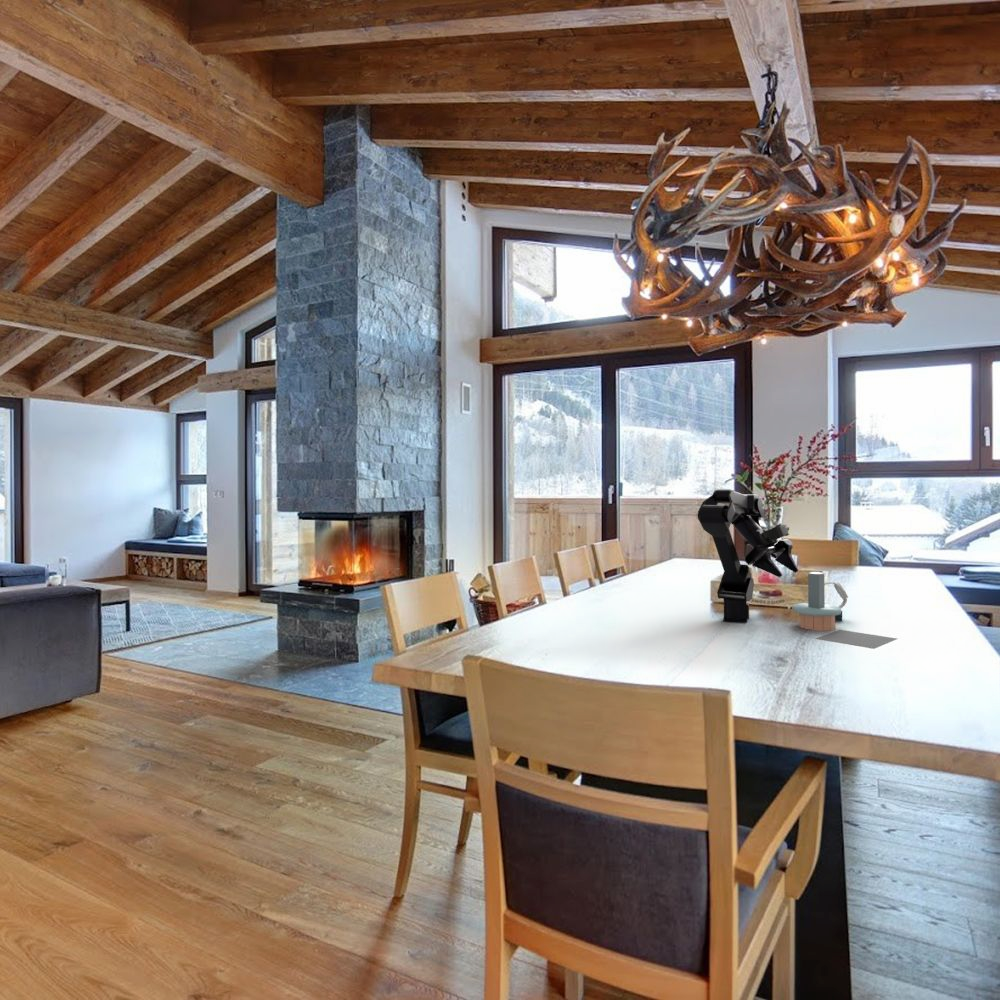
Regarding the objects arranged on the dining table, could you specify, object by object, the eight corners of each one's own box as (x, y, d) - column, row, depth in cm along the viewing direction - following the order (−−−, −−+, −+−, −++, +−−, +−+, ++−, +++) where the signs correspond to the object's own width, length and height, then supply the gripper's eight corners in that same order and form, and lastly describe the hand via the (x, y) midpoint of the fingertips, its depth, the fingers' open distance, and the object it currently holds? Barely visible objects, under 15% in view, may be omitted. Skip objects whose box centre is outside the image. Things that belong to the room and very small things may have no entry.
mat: (814, 640, 170) (815, 638, 170) (840, 631, 179) (840, 629, 179) (874, 650, 159) (873, 648, 159) (897, 640, 168) (897, 638, 168)
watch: (850, 622, 189) (849, 583, 189) (818, 621, 191) (818, 583, 191) (845, 618, 194) (845, 580, 194) (815, 617, 197) (814, 580, 196)
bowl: (800, 630, 181) (799, 613, 181) (798, 623, 189) (797, 607, 189) (836, 632, 178) (836, 615, 177) (832, 625, 186) (832, 609, 186)
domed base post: (784, 611, 184) (783, 573, 184) (805, 605, 192) (805, 568, 191) (828, 618, 175) (828, 577, 174) (849, 611, 182) (848, 572, 182)
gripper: (753, 517, 190) (791, 560, 182) (786, 512, 202) (824, 551, 194) (728, 543, 196) (765, 585, 189) (762, 536, 208) (797, 575, 200)
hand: (789, 573), depth 193 cm, fingers open, 9 cm apart
